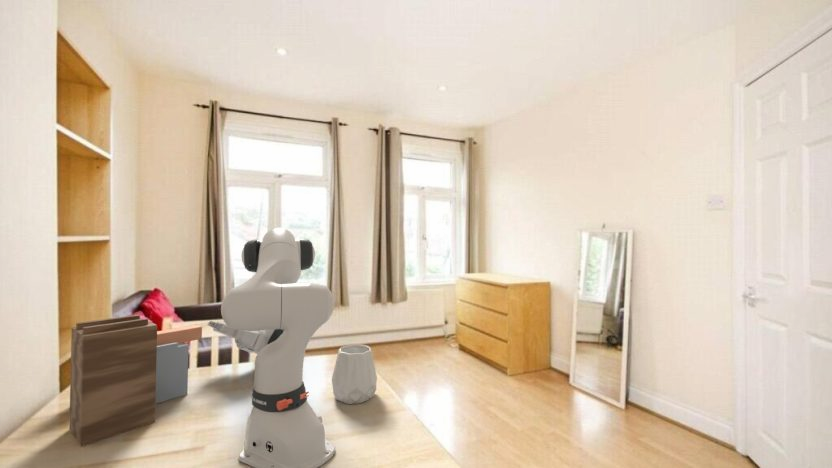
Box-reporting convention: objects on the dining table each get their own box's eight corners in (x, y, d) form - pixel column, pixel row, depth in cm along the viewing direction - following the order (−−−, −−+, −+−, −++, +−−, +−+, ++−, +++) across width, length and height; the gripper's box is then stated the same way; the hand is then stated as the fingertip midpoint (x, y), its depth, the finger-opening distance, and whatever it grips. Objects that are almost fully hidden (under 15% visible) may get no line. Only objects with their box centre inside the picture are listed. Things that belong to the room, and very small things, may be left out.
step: (187, 394, 117) (188, 341, 117) (145, 406, 108) (147, 349, 108) (172, 384, 124) (173, 334, 124) (132, 395, 115) (133, 341, 115)
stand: (155, 421, 99) (157, 319, 99) (80, 446, 87) (83, 330, 87) (139, 408, 107) (141, 312, 107) (69, 429, 95) (71, 321, 95)
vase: (331, 409, 109) (332, 357, 109) (331, 389, 123) (332, 343, 123) (379, 404, 112) (380, 354, 112) (373, 386, 126) (374, 341, 126)
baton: (201, 338, 123) (202, 326, 123) (119, 354, 106) (120, 340, 106) (196, 336, 126) (196, 324, 126) (115, 351, 108) (115, 338, 108)
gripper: (238, 325, 146) (206, 312, 136) (267, 334, 133) (234, 321, 124) (230, 341, 143) (197, 328, 134) (258, 351, 131) (224, 339, 121)
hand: (215, 325), depth 129 cm, fingers open, 8 cm apart
